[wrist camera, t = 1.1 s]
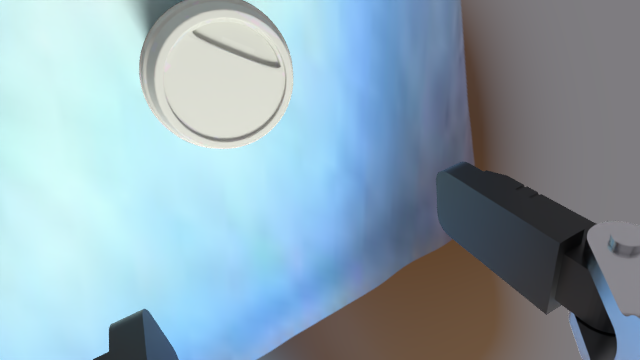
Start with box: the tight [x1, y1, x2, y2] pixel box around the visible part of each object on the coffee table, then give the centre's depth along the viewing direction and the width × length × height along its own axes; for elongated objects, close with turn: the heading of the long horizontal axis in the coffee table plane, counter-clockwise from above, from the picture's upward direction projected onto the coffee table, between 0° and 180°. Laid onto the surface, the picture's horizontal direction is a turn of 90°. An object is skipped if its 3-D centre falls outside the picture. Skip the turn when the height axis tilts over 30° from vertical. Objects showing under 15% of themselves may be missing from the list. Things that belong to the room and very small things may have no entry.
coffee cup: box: [139, 0, 293, 149], centre depth 26 cm, size 9×8×12 cm
